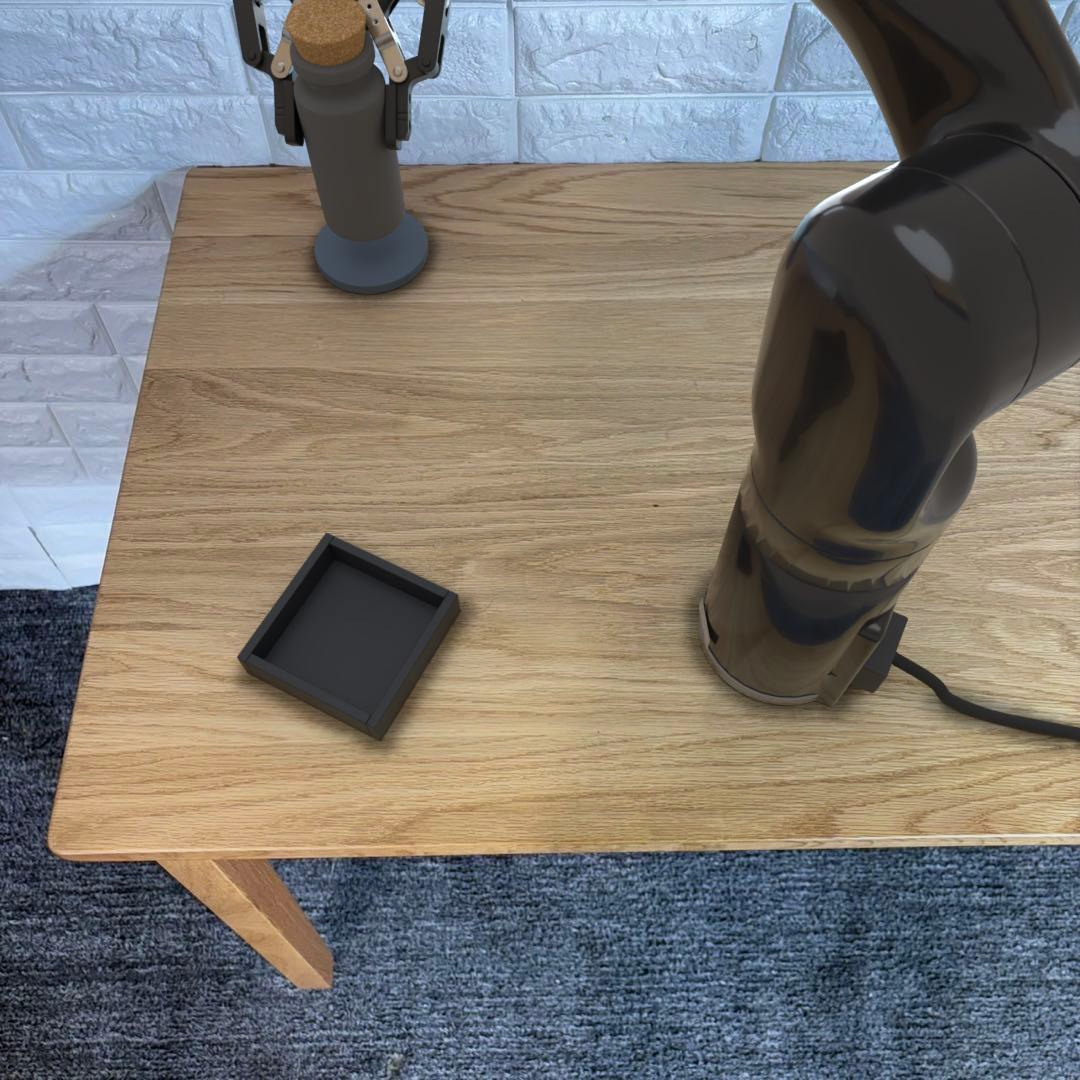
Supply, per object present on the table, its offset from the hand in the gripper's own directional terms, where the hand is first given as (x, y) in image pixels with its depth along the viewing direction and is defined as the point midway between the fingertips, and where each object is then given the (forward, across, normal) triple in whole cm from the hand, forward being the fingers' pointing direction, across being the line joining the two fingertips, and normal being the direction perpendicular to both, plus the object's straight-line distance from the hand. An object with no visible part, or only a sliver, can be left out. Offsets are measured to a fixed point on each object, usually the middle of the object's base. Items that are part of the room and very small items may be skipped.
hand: (344, 146), depth 65 cm
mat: (+7, 0, +9) cm, 11 cm away
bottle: (+4, 0, +6) cm, 8 cm away
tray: (+29, +3, -14) cm, 32 cm away
